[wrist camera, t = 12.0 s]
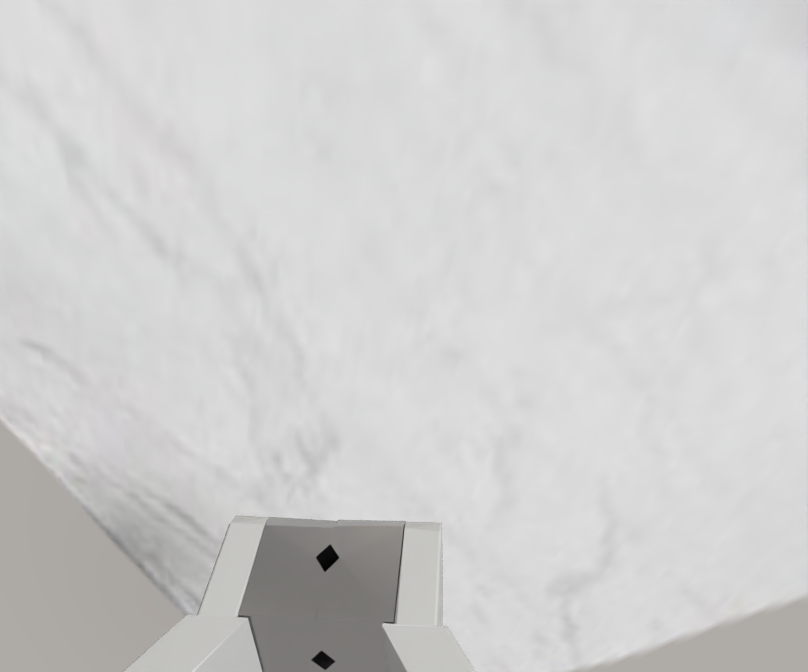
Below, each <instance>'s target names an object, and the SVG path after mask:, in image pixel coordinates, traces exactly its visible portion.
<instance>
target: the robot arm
mask: <svg viewBox="0 0 808 672" xmlns="http://www.w3.org/2000/svg"><path fill="white" fill-rule="evenodd" d="M123 672H476V671H475V669H474V668H473V666H472V665H471V663H470V661H469V660H468V658H467V657H466V655H465V653H464V652H463V650H462V649H461V647H460V645H459V644H458V642H457V640H456V639H455V637H454V636H453V634H452V632H451V631H450V629H449V628H448V627H447V626H443V546H442V523H432V522H406V521H374V520H338V521H329V520H312V519H295V518H278V517H253V516H235V518H234V519H233V520H232V522H231V523H230V524H229V526H228V529H227V532H226V535H225V537H224V540H223V543H222V546H221V549H220V551H219V554H218V557H217V560H216V563H215V565H214V568H213V571H212V574H211V577H210V580H209V582H208V585H207V588H206V591H205V594H204V596H203V599H202V602H201V605H200V608H199V610H198V613H197V615H186V616H185V617H183V618H182V620H180V621H179V622H178V623H177V624H176V625H175V626H174V627H172V628H171V629H170V630H169V631H168V632H167V633H166V634H164V635H163V636H162V637H161V638H160V639H159V640H158V641H157V642H156V643H154V644H153V645H152V646H151V647H150V648H149V649H148V650H146V651H145V652H144V653H143V654H142V655H141V656H140V657H139V658H138V659H136V660H135V661H134V662H133V663H132V664H131V665H130V666H129V667H127V668H126V669H125V670H124V671H123Z"/></svg>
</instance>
